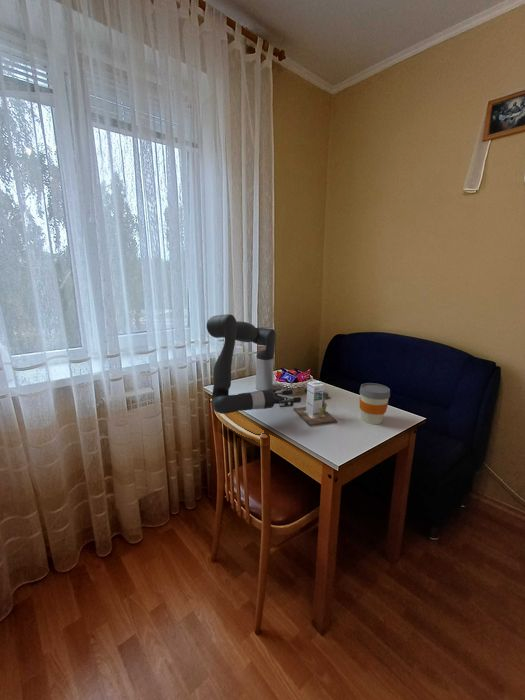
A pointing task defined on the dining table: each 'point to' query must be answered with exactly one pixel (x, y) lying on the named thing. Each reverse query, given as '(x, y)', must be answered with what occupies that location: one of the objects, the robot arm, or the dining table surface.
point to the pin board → (315, 420)
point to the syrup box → (315, 398)
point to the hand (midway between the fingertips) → (296, 395)
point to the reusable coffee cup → (373, 402)
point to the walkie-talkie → (324, 396)
